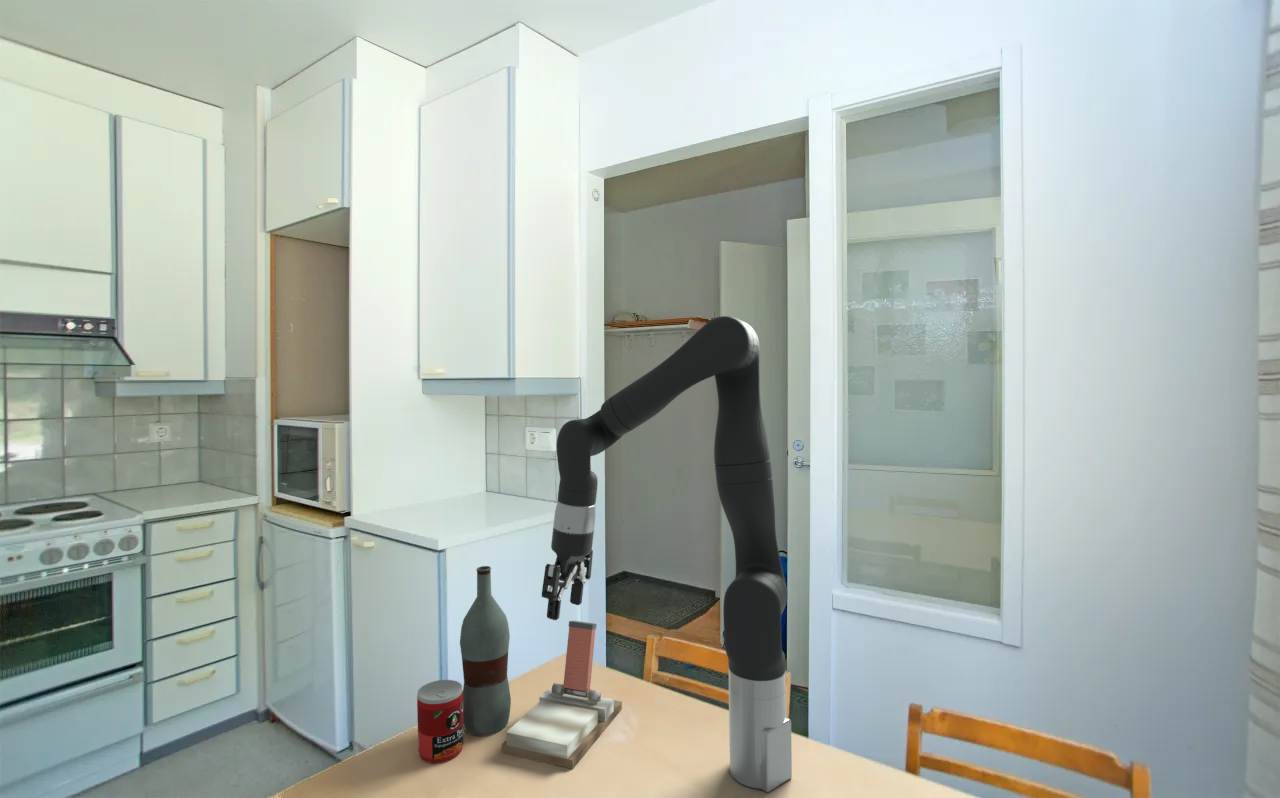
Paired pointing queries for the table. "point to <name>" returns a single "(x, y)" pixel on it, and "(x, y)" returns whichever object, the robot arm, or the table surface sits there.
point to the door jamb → (561, 727)
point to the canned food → (440, 720)
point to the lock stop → (579, 658)
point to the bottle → (485, 662)
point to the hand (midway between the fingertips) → (564, 610)
